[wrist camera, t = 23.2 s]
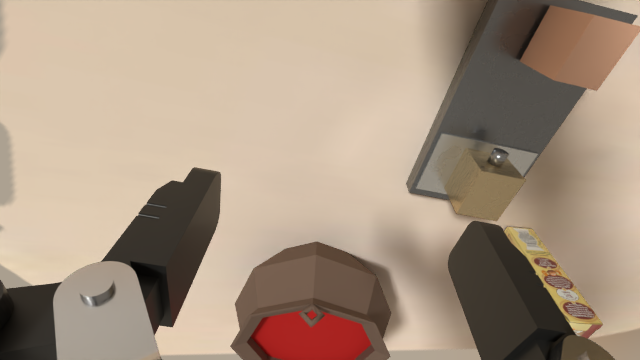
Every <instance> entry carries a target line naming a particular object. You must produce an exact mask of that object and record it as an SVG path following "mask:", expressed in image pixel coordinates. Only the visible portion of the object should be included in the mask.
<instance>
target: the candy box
mask: <svg viewBox="0 0 640 360" xmlns="http://www.w3.org/2000/svg"><path fill="white" fill-rule="evenodd" d="M504 232H505V234H506V235H507V237H508V239H509V240H510V242H511V243H512V244H513V245H514V246H515V247H516V248H517V249H518V250H519V251H520V252H521V253H522V254H523V255H524V256H526V257H527V259H528V260H529V262H530V264H531V265H532V267H533V268H534V270H535V271H536V275H538V276H539V278H540V279H541V281H542V282H543V284H544V287H545V288H546V289H547V290H548V292H549V293H550V295H551V296H552V298H553V299H554V301H555V303H556V304H557V306H558V307H559V309H560V310H561V312H562V313H563V315H564V317H565V318H566V320H567V321H568V323H569V324H570V326H571V327H572V329H573V331H574V332H575V334H576V335H578V336H582V337H585V338H587V339H588V338H589V337H590V336H591V335H592V334H593V333H594V332H595V331H596V330H598V329H599V328H600V327H601V326H602V325H603V324H602V322H601V321H600V319H599V318H598V317H597V315H596V314H595V313H594V311H593V310H592V309H591V307H590V306H589V305H588V303H587V302H586V301H585V299H584V298H583V297H582V295H581V294H580V293H579V291H578V290H577V289H576V287H575V286H574V285H573V283H572V282H571V281H570V279H569V278H568V277H567V275H566V274H565V272H564V271H563V270H562V268H561V267H560V266H559V264H558V263H557V262H556V260H555V259H554V258H553V256H552V255H551V254H550V252H549V251H548V250H547V248H546V247H545V246H544V244H543V243H542V242H541V240H540V239H539V238H538V236H537V235H536V234H535V232H534V231H533V230H532V229H528V228H514V227H507V228H506V229H505V231H504Z"/></svg>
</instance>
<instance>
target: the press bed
mask: <svg viewBox="0 0 640 360" xmlns="http://www.w3.org/2000/svg"><path fill="white" fill-rule="evenodd" d="M550 5H551V6H556V7H561V8H565V9H570V10H574V11H579V12H584V13H588V14H593V15H597V16H601V17H605V18H609V19H613V20H617V21H620V22H624V23H628V24H632V23H633V22H634V20H635V19H636V17H637V15H633V14H629V13H626V12H622V11H618V10H614V9H610V8H606V7H602V6H599V5H595V4H591V3H587V2H583V1H579V0H488V2H487V4H486V7H485V9H484V11H483V13H482V16H481V18H480V20H479V22H478V25H477V27H476V29H475V31H474V33H473V36H472V38H471V40H470V42H469V45H468V47H467V49H466V51H465V54H464V56H463V58H462V60H461V62H460V65H459V67H458V69H457V71H456V74H455V76H454V78H453V80H452V82H451V85H450V87H449V89H448V91H447V94H446V96H445V98H444V100H443V103H442V105H441V107H440V109H439V111H438V114H437V116H436V118H435V120H434V123H433V125H432V127H431V129H430V132H429V134H428V136H427V138H426V140H425V143H424V145H423V147H422V149H421V152H420V154H419V156H418V158H417V161H416V163H415V165H414V167H413V169H412V172H411V174H410V176H409V178H408V181H407V183H406V184H407V187H408V191H409V192H410V193H415V194H421V195H426V196H431V197H436V198H441V199H446V200H450V199H449V197H448V195H447V193H446V191H445V189H444V187H445V185H446V184H447V182H448V180H449V178H450V176H451V174H452V172H453V171H454V169H455V167H456V165H457V163H458V161H459V159H460V158H461V156H462V154H463V152H464V150H465V148H469V149H474V150H479V151H484V152H488V153H492V151H493V149H494V148H500V149H503V150H505V151H506V152H508V153H509V156H508V157H507V159H508V160H509V161H510V162H511V163H512V164H513V166H514V167H515V168H516V169H517V170H518V171H519V172H520V174H521V175H522V176H523V177H525V175H526V174H527V173H528V171H529V170H530V168H531V167H532V165H533V164H534V163H535V161H536V160H537V158H538V157H539V155H540V154H541V153H542V151H543V150H544V148H545V147H546V145H547V144H548V143H549V141H550V140H551V138H552V137H553V136H554V134H555V133H556V131H557V130H558V128H559V127H560V126H561V124H562V123H563V121H564V120H565V118H566V117H567V116H568V114H569V113H570V111H571V110H572V109H573V107H574V106H575V104H576V103H577V101H578V100H579V99H580V97H581V96H582V94H583V93H584V91H585V90H586V89H587V88H584V87H580V86H576V85H571V84H567V83H563V82H558V81H554V80H552V79H550V78H548V77H547V76H545V75H543V74H541V73H539V72H538V71H536V70H534V69H532V68H531V67H529V66H527V65H525V64H523V63H522V62H520V59H521V58H522V56H523V54H524V52H525V50H526V49H527V47H528V45H529V43H530V41H531V39H532V38H533V36H534V34H535V32H536V30H537V29H538V27H539V25H540V23H541V21H542V20H543V18H544V16H545V14H546V12H547V10H548V9H549V7H550Z"/></svg>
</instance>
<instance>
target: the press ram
mask: <svg viewBox="0 0 640 360" xmlns="http://www.w3.org/2000/svg"><path fill="white" fill-rule="evenodd" d="M639 32H640V26H636V25H632V24H628V23H624V22H620V21H617V20H613V19H609V18H605V17H601V16H597V15H593V14H588V13H584V12H579V11H574V10H570V9H565V8H561V7H556V6H551V5H550V7H549V9H548V10H547V12H546V14H545V16H544V18H543V20H542V21H541V23H540V25H539V27H538V29H537V30H536V32H535V34H534V36H533V38H532V39H531V41H530V43H529V45H528V47H527V49H526V50H525V52H524V54H523V56H522V58H521V59H520V62H522V63H523V64H525V65H527V66H529V67H531V68H532V69H534V70H536V71H538V72H539V73H541V74H543V75H545V76H547V77H548V78H550V79H552V80H554V81H558V82H563V83H567V84H571V85H576V86H580V87H584V88H588V89H593V90H598V88H599V87H600V86H601V84H602V83H603V81H604V80H605V79H606V77H607V76H608V75H609V73H610V72H611V70H612V69H613V68H614V66H615V65H616V64H617V62H618V61H619V59H620V58H621V57H622V55H623V54H624V53H625V51H626V50H627V48H628V47H629V46H630V44H631V43H632V41H633V40H634V39H635V37H636V36H637V35H638V33H639Z"/></svg>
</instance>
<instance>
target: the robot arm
mask: <svg viewBox="0 0 640 360" xmlns="http://www.w3.org/2000/svg"><path fill="white" fill-rule="evenodd" d="M220 193H221V174H220V172H217V171H212V170H206V169H201V168H196V167H194V168H193V169H192V170H191V171H190V173H189V174H188V176H187V177H186V179H185V180H184V182H177V181H171V182H169V183H167V184H166V185H164V186H162V187H161V188H159V189H157V190H156V191H155V193H154V194H153V195H152V196H151V198H150V199H149V200H148V202H147V205H145V206H144V207H143V208H142V209H141V211H140V212H139V215H138V216H136V217H135V219H134V220H133V221H132V222H131V224H130V225H129V226H128V228H127V229H126V230H125V232H124V233H123V234H122V235H121V237H120V238H119V239H118V241H117V242H116V243H115V245H114V246H113V247H112V248H111V250H110V251H109V252H108V254H107V255H106V256H105V258H104V259H103V260H102V261H101V262H98V263H93V264H90V265H87V266H85V267H83V268H81V269H79V270H77V271H75V272H74V273H72V274H71V275H69V276H68V277H67V278H66V279H65V280H64V281H63V282H60V283H53V284H45V285H36V286H27V287H18V288H9V289H6V288H5V287H4V285H3V283H2V282H1V280H0V360H162V359H161V357H160V354H159V350H158V347H157V343H156V340H155V337H154V335H155V333H156V331H157V329H158V327H159V325H160V326H167V327H173V325H174V323H175V321H176V319H177V316H178V314H179V312H180V309H181V307H182V305H183V303H184V300H185V298H186V296H187V293H188V291H189V289H190V287H191V284H192V282H193V280H194V278H195V275H196V273H197V271H198V268H199V266H200V264H201V262H202V259H203V257H204V255H205V253H206V250H207V248H208V246H209V243H210V241H211V239H212V237H213V234H214V232H215V230H216V227H217V224H218V219H219V214H220ZM448 268H449V272H450V275H451V278H452V281H453V283H454V286H455V289H456V292H457V294H458V297H459V300H460V303H461V305H462V308H463V311H464V313H465V316H466V319H467V322H468V324H469V327H470V330H471V333H472V335H473V338H474V341H475V344H476V346H477V349H478V352H479V355H480V357H481V360H615V359H614V358H613V356H611V355H610V354H609V353H608V352H607V351H606V350H604V349H603V348H602V347H601V346H599V345H598V344H596V343H595V342H593V341H591V340H589V339H587V338H585V337H582V336H578V335H576V334H575V332H574V331H573V329H572V327H571V326H570V324H569V323H568V321H567V320H566V318H565V317H564V315H563V313H562V312H561V310H560V309H559V307H558V306H557V304H556V303H555V301H554V299H553V298H552V296H551V295H550V293H549V292H548V290H547V289H546V288H545V287H544V284H543V282H542V281H541V279H540V278H539V276H538V275H536V271H535V270H534V268H533V267H532V265H531V264H530V262H529V260H528V259H527V257H526V256H524V255H523V254H522V253H521V252H520V251H519V250H518V249H517V248H516V247H515V246H514V245H513V244H512V243H511V242H510V240H509V239H508V237H507V235H506V234H505V232H504V231H503V229H502V228H501V227H500V226H499V225H495V224H489V223H484V222H479V221H473V222H471V223H470V224H469V225H468V226H467V228H466V230H465V231H464V233H463V234H462V236H461V237H460V239H459V240H458V242H457V243H456V245H455V247H454V248H453V250H452V251H451V253H450V255H449V260H448Z"/></svg>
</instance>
